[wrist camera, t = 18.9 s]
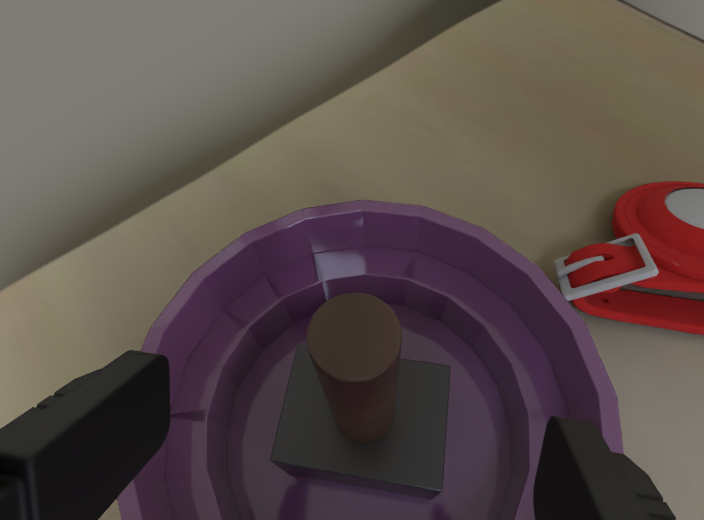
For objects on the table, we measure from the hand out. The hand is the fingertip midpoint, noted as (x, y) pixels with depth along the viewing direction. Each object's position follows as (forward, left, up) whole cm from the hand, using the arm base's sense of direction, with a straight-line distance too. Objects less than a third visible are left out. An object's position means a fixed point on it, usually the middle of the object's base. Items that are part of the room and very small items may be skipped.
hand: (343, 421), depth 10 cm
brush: (0, -2, -11) cm, 11 cm away
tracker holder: (-13, -12, -12) cm, 22 cm away
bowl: (0, -2, -12) cm, 12 cm away
